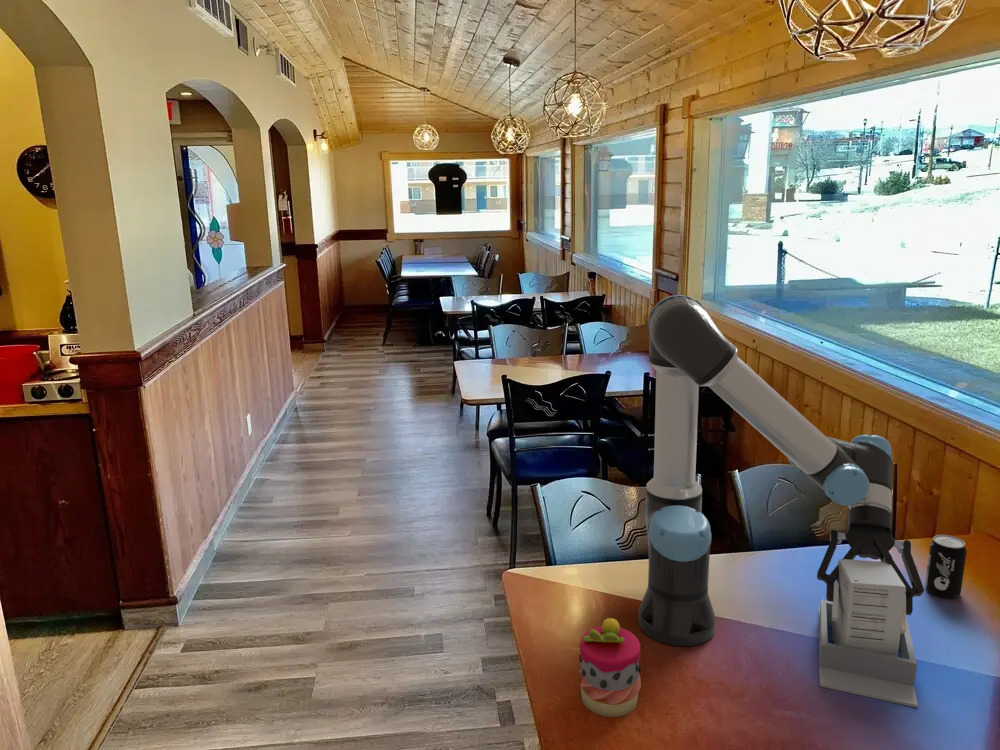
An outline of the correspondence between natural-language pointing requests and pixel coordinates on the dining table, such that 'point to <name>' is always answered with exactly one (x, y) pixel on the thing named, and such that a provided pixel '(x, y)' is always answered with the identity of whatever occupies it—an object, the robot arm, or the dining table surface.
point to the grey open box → (866, 666)
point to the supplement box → (869, 607)
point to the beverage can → (945, 566)
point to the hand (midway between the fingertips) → (868, 625)
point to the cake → (610, 669)
